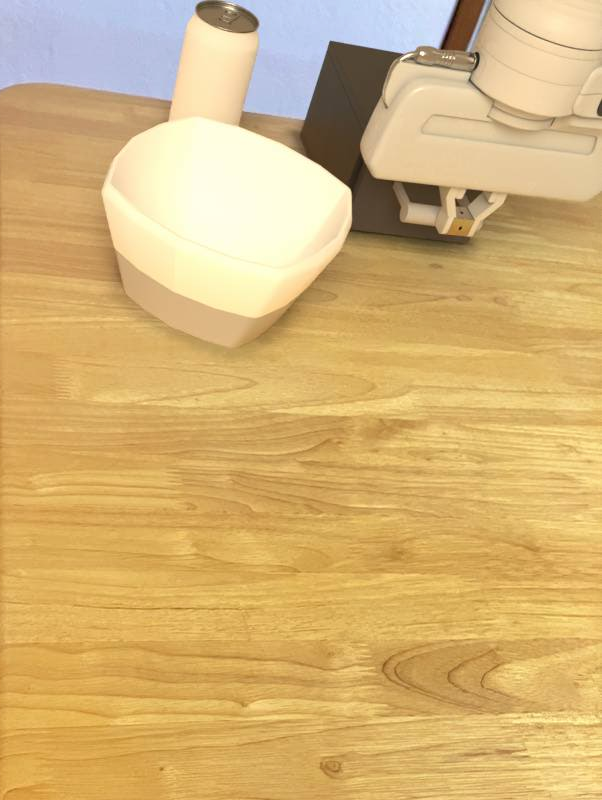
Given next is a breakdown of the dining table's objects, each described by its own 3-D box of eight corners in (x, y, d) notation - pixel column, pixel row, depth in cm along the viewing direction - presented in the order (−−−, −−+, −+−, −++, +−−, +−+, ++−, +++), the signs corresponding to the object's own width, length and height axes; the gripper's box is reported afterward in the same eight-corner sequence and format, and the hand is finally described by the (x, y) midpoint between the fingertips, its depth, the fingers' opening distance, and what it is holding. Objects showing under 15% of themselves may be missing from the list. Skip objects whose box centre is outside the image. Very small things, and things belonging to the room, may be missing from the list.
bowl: (343, 289, 75) (384, 189, 68) (258, 403, 64) (297, 299, 57) (163, 200, 78) (184, 94, 70) (51, 295, 67) (63, 182, 59)
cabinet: (464, 245, 84) (513, 150, 76) (330, 229, 81) (368, 128, 73) (420, 156, 93) (460, 63, 86) (298, 138, 90) (329, 40, 82)
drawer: (483, 277, 79) (526, 200, 73) (355, 263, 76) (389, 181, 70) (424, 159, 91) (458, 83, 85) (311, 142, 88) (337, 62, 82)
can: (154, 150, 82) (179, 14, 73) (177, 122, 86) (204, -11, 77) (218, 175, 82) (252, 42, 73) (238, 146, 86) (273, 16, 77)
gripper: (412, 64, 59) (345, 243, 70) (672, 102, 64) (571, 264, 74) (387, 21, 63) (327, 197, 73) (635, 60, 67) (544, 220, 78)
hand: (452, 231), depth 74 cm, fingers closed
